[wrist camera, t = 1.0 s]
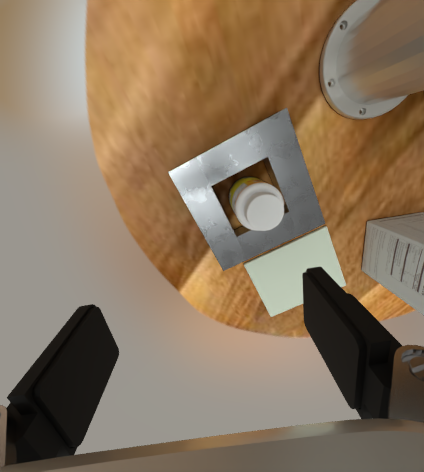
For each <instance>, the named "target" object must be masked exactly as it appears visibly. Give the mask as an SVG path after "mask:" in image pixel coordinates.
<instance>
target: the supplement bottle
mask: <svg viewBox="0 0 424 472" xmlns="http://www.w3.org/2000/svg"><path fill="white" fill-rule="evenodd" d="M229 202H230V205H231V207H232V209H233V211H234V213H235V215H236V217H237V218H238V220H239V222H240V223H241V224H242V225H243V226H245V227H246V228H248V229H250V230H255V231H267V230H271V229H273V228H275V227H276V226H277V225H278V224H279V223H280V222H281V220H282V218H283V216H284V200H283V197H282V195H281V193H280V192H279V190H278V189H277V188H275V187H274V186H272V185H271V184H268V183H266V182H264V181H262V180H260V179H257V178H255V177H243V178H241V179H239V180H237V181H236V182H235V183H234V184H233V185H232V187H231V189H230V192H229Z"/></svg>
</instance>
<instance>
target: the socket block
mask: <svg viewBox="0 0 424 472" xmlns="http://www.w3.org/2000/svg"><path fill="white" fill-rule="evenodd" d="M262 159H263V161H264V163H265V166H266V168H267V171H268V173H269V176H270V178H271V181H272V183H273V186H274V187H275V188H277V189H278V190H279V192H280V193H281V195H282V197H283V200H284V216H283V218H282V220H281V222H280V223H279V224H278V225H277V226H276V227H275V228H273V229H271V230H267V231H255V230H250V229H248V228H246V227H245V226H241V227H239V228H237V229H235V230H233V228H232V226H231V224H230V222H229V220H228V218H227V216H226V214H225V212H224V210H223V208H222V206H221V204H220V202H219V200H218V198H217V196H216V194H215V192H214V190H213V188H212V186H213V185H214V184H216V183H218V182H220V181H222V180H224V179H226V178H228V177H230V176H232V175H234V174H236V173H237V172H239V171H241V170H243V169H245V168H247V167H249V166H251V165H253V164H255V163H257V162H259V161H260V160H262ZM168 173H169V175H170V177H171V178H172V180H173V182H174V184H175V185H176V187H177V189H178V191H179V193H180V194H181V196H182V198H183V200H184V201H185V203H186V205H187V207H188V209H189V210H190V212H191V214H192V216H193V217H194V219H195V221H196V223H197V225H198V226H199V228H200V230H201V232H202V233H203V235H204V237H205V239H206V241H207V242H208V244H209V246H210V248H211V250H212V251H213V253H214V255H215V257H216V258H217V260H218V262H219V264H220V266H221V267H222V269H223V271H224V270H226V269H228V268H231V267H233V266H235V265H237V264H239V263H241V262H244V261H246V260H248V259H250V258H252V257H254V256H256V255H259V254H261V253H263V252H265V251H267V250H269V249H271V248H274V247H276V246H278V245H280V244H282V243H284V242H287V241H289V240H291V239H293V238H295V237H297V236H299V235H302V234H304V233H306V232H308V231H310V230H312V229H314V228H317V227H319V226H321V225H323V224H325V221H324V218H323V215H322V212H321V209H320V206H319V203H318V200H317V197H316V194H315V191H314V188H313V185H312V182H311V179H310V176H309V173H308V170H307V167H306V164H305V161H304V158H303V155H302V152H301V149H300V146H299V143H298V140H297V137H296V134H295V131H294V128H293V125H292V122H291V119H290V116H289V113H288V110H287V108H285V109H283V110H281V111H279V112H278V113H276V114H274V115H272V116H270V117H268V118H267V119H265V120H263V121H261V122H259V123H257V124H256V125H254V126H252V127H250V128H248V129H246V130H245V131H243V132H241V133H239V134H237V135H235V136H234V137H232V138H230V139H228V140H226V141H224V142H223V143H221V144H219V145H217V146H215V147H213V148H212V149H210V150H208V151H206V152H204V153H202V154H201V155H199V156H197V157H195V158H193V159H191V160H190V161H188V162H186V163H184V164H182V165H180V166H179V167H177V168H175V169H173V170H171V171H170V172H168Z"/></svg>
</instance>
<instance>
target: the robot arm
mask: <svg viewBox="0 0 424 472" xmlns="http://www.w3.org/2000/svg"><path fill="white" fill-rule="evenodd" d="M340 28H341V29H340ZM319 70H320V83H321V87H322V91H323V94H324V96H325V98H326V100H327V102H328V103H329V105H330V106H331V107H332V108H333V109H334V110H335V111H336V112H337V113H339V114H340V115H342V116H344V117H347V118H351V119H369V118H373V117H377V116H380V115H383V114H384V113H386V112H388V111H390V110H392V109H393V108H394V107H396V106H397V105H399V104H400V103H401V102H402V101H403V100H404V99H405V98H406V97H407V96H408V95H409V94H413V93H416V92H420V91H424V0H357V1H356V2H354V3H353V4H352V5H351V6H350V7H349V8H348V9H347V10H346V11H345V12H344V13H343V14H342V15H341V16H340V18H339V19H338V20H337V21H336V23H335V24H334V26H333V27H332V29H331V31H330V32H329V34H328V37H327V39H326V42H325V44H324V47H323V51H322V55H321V60H320V69H319ZM328 83H329V86H328ZM359 112H360V113H359ZM302 278H303V308H304V323H305V326H306V328H307V330H308V332H309V334H310V336H311V338H312V339H313V341H314V343H315V345H316V347H317V348H318V350H319V352H320V354H321V355H322V358H323V359H324V361H325V363H326V365H327V367H328V368H329V370H330V372H331V374H332V376H333V377H334V380H335V381H336V383H337V385H338V387H339V389H340V390H341V392H342V394H343V396H344V398H345V400H346V401H347V403H348V405H349V406H350V408H352V409H356V410H357V412H358V413H359V415H360V417H361V419H357V420H344V421H335V422H326V423H316V424H307V425H298V426H290V427H282V428H274V429H266V430H258V431H251V432H242V433H234V434H227V435H219V436H211V437H204V438H196V439H189V440H181V441H173V442H166V443H159V444H151V445H144V446H136V447H129V448H122V449H115V450H107V451H100V452H93V453H86V454H79V455H74V454H75V451H76V449H77V447H78V446H79V445H80V444H81V443H82V441H83V439H84V437H85V435H86V432H87V430H88V428H89V425H90V423H91V420H92V418H93V416H94V413H95V411H96V409H97V406H98V404H99V402H100V399H101V397H102V394H103V392H104V390H105V387H106V385H107V382H108V380H109V378H110V375H111V373H112V371H113V368H114V366H115V364H116V361H117V359H118V356H119V349H118V347H117V345H116V342H115V340H114V338H113V336H112V334H111V332H110V330H109V328H108V325H107V323H106V321H105V319H104V317H103V314H102V312H101V310H100V309H99V307H96V306H95V305H93V304H92V305H86V306H81V307H79V308H78V309H77V310H76V311H75V313H74V314H73V315H72V316H71V318H70V319H69V320H68V321H67V323H66V324H65V325H64V326H63V328H62V329H61V330H60V332H59V333H58V334H57V335H56V337H55V338H54V339H53V340H52V341H51V343H50V344H49V345H48V346H47V348H46V349H45V350H44V351H43V353H42V354H41V355H40V357H39V358H38V359H37V360H36V361H35V363H34V364H33V365H32V366H31V368H30V369H29V370H28V372H27V373H26V374H25V375H24V377H23V378H22V379H21V380H20V382H19V383H18V384H17V385H16V387H15V388H14V389H13V390H12V392H11V393H10V394H9V395H8V397H7V398H8V400H9V401H10V402H11V403H10V404H9V406H8V407H7V408H6V407H5V406H3V405H0V472H424V347H422V346H418V345H405V346H402V345H401V344H400V343H399V342H398V341H397V340H396V339H395V338H394V337H393V336H392V335H391V334H390V333H389V332H388V331H387V330H386V329H385V328H384V327H383V326H382V325H381V324H380V323H379V322H378V321H377V319H376V318H375V317H374V316H373V315H372V314H371V313H370V312H369V311H368V310H367V309H366V308H365V307H364V306H363V305H362V304H361V303H360V302H359V301H358V300H357V299H356V298H355V297H354V296H353V295H351V294H349V293H348V294H347V293H346V292H345V291H344V290H343V289H342V288H341V287H340V286H339V285H338V284H337V283H336V282H335V281H334V280H333V278H332V277H331V276H330V275H329V274H328V273H327V272H326V271H325V270H324V269H323V268H322V267H320V266H319V267H313V268H307V269H306V272H304V273H303V274H302ZM372 418H373V419H372Z"/></svg>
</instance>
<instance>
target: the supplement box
mask: <svg viewBox="0 0 424 472" xmlns="http://www.w3.org/2000/svg"><path fill="white" fill-rule="evenodd" d="M362 271H363V272H364V273H366V274H367V275H369V276H370V277H371V278H373V279H374V280H376V281H377V282H378V283H380V284H381V285H382V286H384V287H385V288H387V289H388V290H389V291H391V292H392V293H394V294H395V295H396V296H398V297H399V298H400V299H402V300H403V301H405V302H406V303H407V304H409V305H410V306H411V307H413V308H414V309H416V310H417V311H418V312H420V313H421V314H423V315H424V212H421V213H414V214H408V215H402V216H396V217H389V218H383V219H377V220H371V221H367V226H366V235H365V244H364V253H363V262H362Z"/></svg>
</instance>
